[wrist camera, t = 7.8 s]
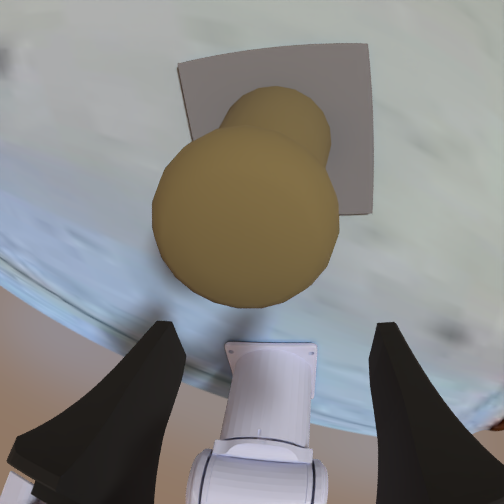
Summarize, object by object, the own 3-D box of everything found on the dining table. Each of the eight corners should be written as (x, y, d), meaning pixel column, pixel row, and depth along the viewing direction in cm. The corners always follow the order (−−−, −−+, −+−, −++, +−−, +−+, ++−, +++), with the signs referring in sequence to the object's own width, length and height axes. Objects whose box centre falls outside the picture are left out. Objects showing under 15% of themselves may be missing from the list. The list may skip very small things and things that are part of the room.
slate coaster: (368, 204, 19) (372, 213, 18) (215, 212, 21) (211, 221, 20) (363, 44, 14) (367, 43, 13) (184, 62, 16) (177, 63, 15)
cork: (222, 187, 19) (142, 324, 10) (219, 85, 15) (98, 130, 6) (326, 195, 18) (338, 348, 9) (335, 90, 14) (385, 136, 5)
